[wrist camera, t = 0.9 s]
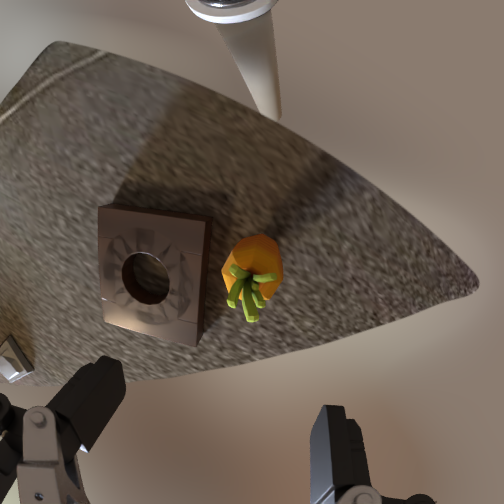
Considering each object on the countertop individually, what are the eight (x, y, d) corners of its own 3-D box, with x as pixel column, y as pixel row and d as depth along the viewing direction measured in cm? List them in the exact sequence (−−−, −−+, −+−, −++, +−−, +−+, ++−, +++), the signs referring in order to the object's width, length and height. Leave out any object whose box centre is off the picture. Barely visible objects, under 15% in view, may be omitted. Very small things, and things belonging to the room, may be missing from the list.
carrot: (243, 217, 31) (207, 258, 17) (287, 224, 31) (288, 271, 17) (238, 259, 33) (203, 327, 19) (281, 266, 33) (275, 339, 18)
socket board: (111, 203, 33) (97, 206, 30) (213, 217, 32) (205, 221, 29) (114, 311, 38) (103, 321, 35) (202, 335, 37) (196, 347, 34)
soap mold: (34, 370, 47) (26, 378, 44) (14, 381, 52) (8, 387, 49) (10, 335, 45) (1, 342, 42) (-5, 352, 50) (-12, 357, 47)
